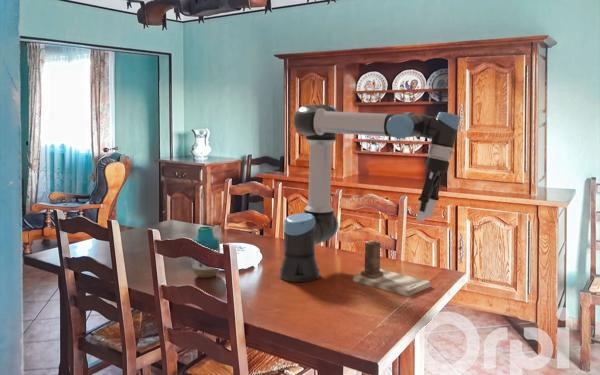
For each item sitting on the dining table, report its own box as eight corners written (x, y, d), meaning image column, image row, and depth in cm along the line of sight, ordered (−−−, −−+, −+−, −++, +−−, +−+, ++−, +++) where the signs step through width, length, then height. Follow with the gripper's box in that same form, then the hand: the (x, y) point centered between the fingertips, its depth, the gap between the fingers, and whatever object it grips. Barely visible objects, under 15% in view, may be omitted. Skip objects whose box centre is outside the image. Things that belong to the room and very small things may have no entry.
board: (353, 280, 201) (353, 275, 201) (375, 272, 211) (375, 267, 211) (408, 296, 185) (408, 290, 185) (429, 286, 195) (430, 281, 195)
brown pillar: (361, 275, 201) (361, 241, 199) (370, 272, 205) (370, 238, 203) (374, 279, 197) (374, 244, 195) (383, 275, 201) (384, 241, 199)
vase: (190, 274, 209) (189, 225, 207) (218, 271, 213) (217, 223, 210) (193, 282, 199) (192, 231, 197) (222, 279, 203) (221, 229, 200)
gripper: (443, 160, 171) (427, 225, 173) (455, 161, 193) (441, 218, 196) (420, 155, 174) (405, 219, 176) (434, 156, 196) (420, 213, 199)
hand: (424, 219), depth 186 cm, fingers open, 13 cm apart
